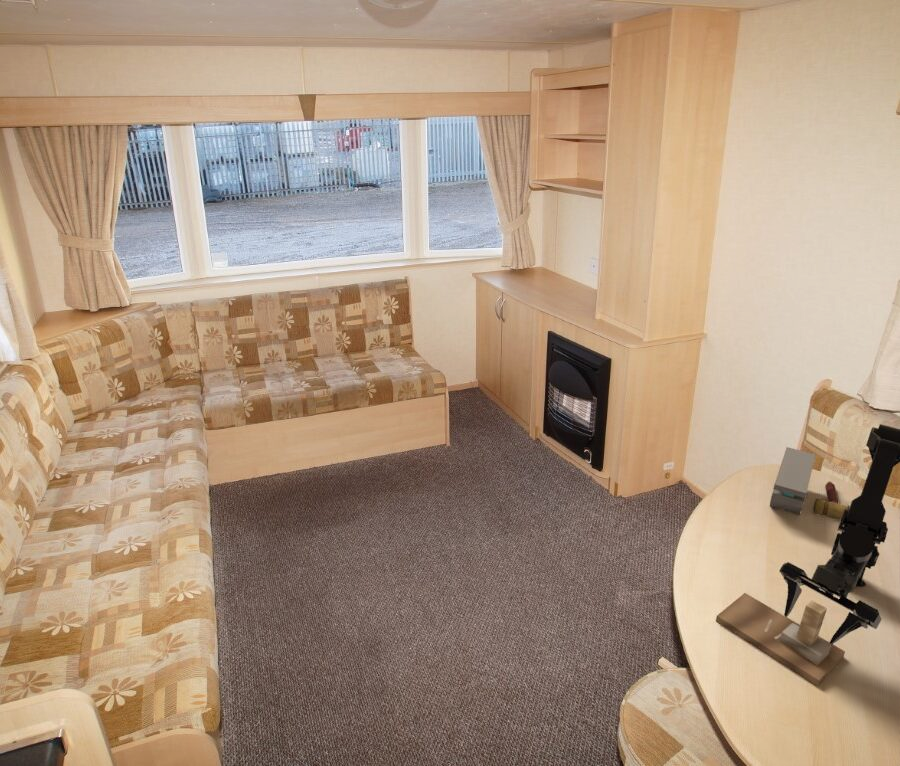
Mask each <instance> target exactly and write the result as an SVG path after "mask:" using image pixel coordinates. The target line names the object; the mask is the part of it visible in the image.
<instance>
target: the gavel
mask: <svg viewBox="0 0 900 766" xmlns="http://www.w3.org/2000/svg"><path fill="white" fill-rule="evenodd" d="M824 487H825V488H824V489H825V492H826V499H827V501H825V499H823V498H818V497H816V498H815V499H814V502H813V507H812V513H813V514H814V515H819V516H822V515H824V516H826V517H830V518H835V519H840V520H841V519H842V516H843V514H844V511H845V509H847V510H849V508H850V505H851V504H850V505H849V504H848V505H844V504H840V503H839V499H838V495H837V490H836V486H835V483H833V482H832V481H830V480H828V481H827V482H826V484H825V486H824Z"/></svg>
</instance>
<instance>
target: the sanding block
mask: <svg viewBox="0 0 900 766" xmlns="http://www.w3.org/2000/svg"><path fill="white" fill-rule="evenodd" d="M827 610H828V609H827V608H826V607H825V606H823V605H822V604H819V603H818V602H816V601H814V600H811V601H809V602H808V603H807V604H806V605H805V607H804V611H803V614H802V617H801V621H800V623H799V625H800V627H799V626H797V625H796V624H794V623H792V624H790V625H789V626H788V627H787V628H786V629H785V630H784V631H783V632H782V634H781V637H780V642H782V643H783V644H785V645H786V646H788V647H790V648H791V649H793V650H794V651H796V652H797V653H799V654H801V655H802V656H804V657H805V658H807V659H809V660H810V661H812V662H813V663H815V664H817V665H819V664H820V663H821V662H822V661H823V660H824V659H825V658H826V657H827V656H828V654H829V651H830V648H831V645H829V644H827V643H826V642H824V641H822V640H821V639H819V638H818V636H820V635H819V634H820V632H821V628H822V625H823V621H824V620H825V616H826V613H827Z"/></svg>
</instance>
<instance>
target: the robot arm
mask: <svg viewBox="0 0 900 766" xmlns="http://www.w3.org/2000/svg"><path fill="white" fill-rule="evenodd" d="M865 446H866V447H868V451H869V454H870V457H871V460H872V461H871V464H870V466H869V467H870V468H869V469H868V473H867V476H866V479H865V482H864V485H863V487H862V491H861V493H860V495H858V496H857V497H856V498H854V499H853V500H852V501H851V502H850V508H849V510H847V509H845V511H844V514H843V516H842V519H840V522H839V523H838V528H837V531H838V532H837V533H836V536H835V539H834V543H833V545H832V549H831V553H830V555H831V558H830V559H828V560H827V562H826V563H825V564H818V565H817V567H816V569H815V571H814V573H813V575H812V577H811V578H810V577H809V576H808V574H807V572H806V571H805V570H804V569H802V568H800V567H798V566H797V565H794V564H793V563H792V562H789V561H787V562H785V563H783V564H782V566H781V567H780V569H779V570H778V571H779V573H780V575H781V576H782V577H783V578H782V579H783V580H784V581H785V583H786V584H787V597H786V602H785V603H786V604H785V609H784V614H783V615H784V616H785V617H787V618H788V616H789V615H790V614H791V613H792V611H793V608H794V607H795V605H796V604H797V602H798V599H799V597H800V595H801V594H802V591H803V589H802V588H801V586H805V587H807V588H809V589H811V590H813V591H814V592H816V593H817V594H819V595H822V596H823V597H826V598H827V599H829V600H830V601H833V602H834V603H836V604H838V605H840V606H842V607H843V608H844V609H847V610H849V612H848V613H847V615H846V618H845V619H844V621H842V623H841V625H839V627H838V628H837V630H836V631H835V632H834V634H833V635H832V637H831V639H830V641H829V642H830V643H831V644H833V645H835V643H837V642H838V641H839V640H841V639H842V638H845V636H847V635H848V634H849V633H851V632H853V631H856V630H857V629H860V628H864V629H868V628H869V627H871V628H872V629H875V630H877V628H878V627H879V625H880V623H881V621H882V617H881V614H880V612H879V609H877V608H875V607H873V606H872V605H869V604H867V603H866V602H865V601H864V602H863V601H862V600H861V599H860V600H858V601H857V602H855V601H853V600H851V599H849V598H848V596H849V594H850V593H853V592H854V590H855V589H856V587H865V586H866V585H867V582H865V581H864V580H863V577H864V576H865V575H864V574H865V571H866V569H869V570H871V569H872V567H876V564H877V561H878V560H879V557H880V552H879V549H878V548H879V546H877V545H881V543H885V541H886V538H887V535H888V530H889V528H888V523H887V521H884V520H885V519H884V518H885V515H886V508H885V506H884V503H883V499H884V497H885V493H886V492H887V491H886V490H887V487H888V484H889V481H890V478H891V475H892V471H893V470H894V467H896V465H898V464H899V463H900V428H897V427H892V426H889V425H885V424H881V423H880V424H879V426H878V428H877V427H874V426H872V427H871V430H870V432H869V436H868V437H867V442H866V445H865ZM839 531H840V532H839ZM876 544H877V545H876ZM836 596H837V597H836ZM838 597H839V598H838Z"/></svg>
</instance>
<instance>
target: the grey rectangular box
mask: <svg viewBox="0 0 900 766" xmlns="http://www.w3.org/2000/svg"><path fill="white" fill-rule="evenodd" d="M816 455H817V454H815V453H811V452H808V451H804V450H799V449H795V448H792V447H788V446H786V449H785V451H784V454H783V458H782V460H781V463H780V466H779V470H778V472H777V476H776V479H775V482H774V485H773V490H772V493H771V497H770V502H769V506H770V507H772V508H775V509H779V510H781V511H782V510H783V511H785V512H789V513H791V514H792V513H793V514H796V515H798V516H800V515H801V513H802V510H803V507H804V503H805V501H806V500H805V499H806V497H807V493H808V489H809V484H810V481H811V476H812V473H813V472H812V471H813V468H814V464H815V459H816Z"/></svg>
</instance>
